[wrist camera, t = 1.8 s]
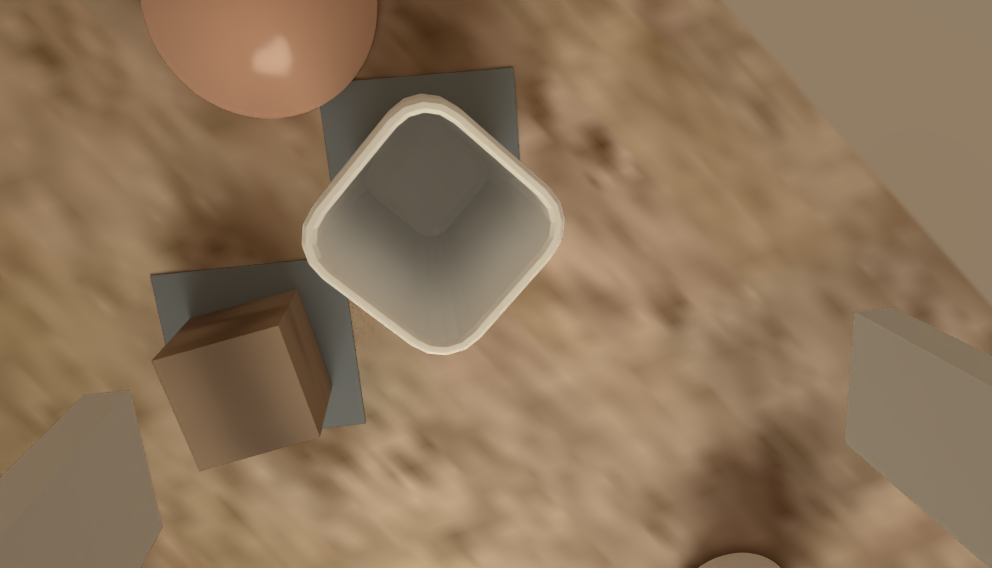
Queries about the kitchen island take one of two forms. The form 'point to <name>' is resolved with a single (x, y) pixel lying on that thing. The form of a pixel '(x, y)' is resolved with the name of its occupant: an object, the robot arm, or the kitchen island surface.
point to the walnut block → (246, 380)
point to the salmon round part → (263, 50)
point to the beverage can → (740, 561)
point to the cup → (432, 226)
